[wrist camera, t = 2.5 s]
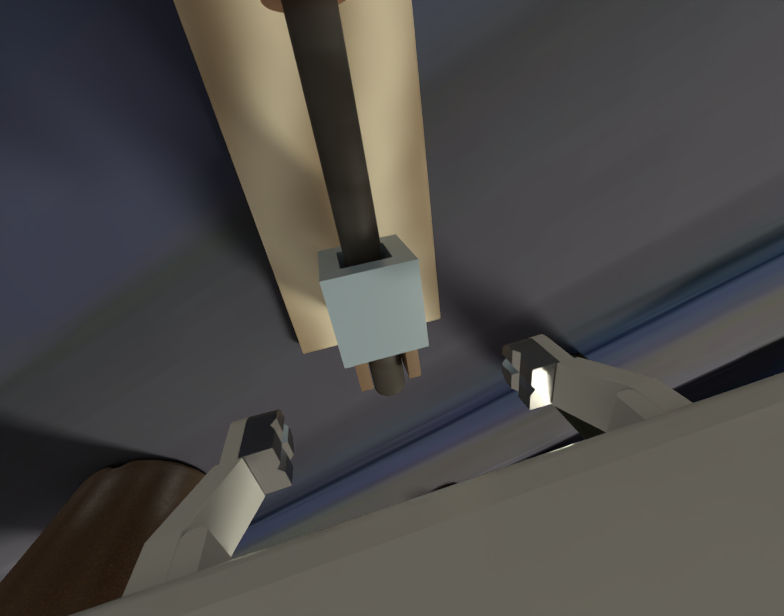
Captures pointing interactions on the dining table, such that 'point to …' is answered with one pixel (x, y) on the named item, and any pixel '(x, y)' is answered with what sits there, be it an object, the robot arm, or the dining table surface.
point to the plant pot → (96, 539)
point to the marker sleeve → (374, 303)
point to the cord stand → (322, 142)
